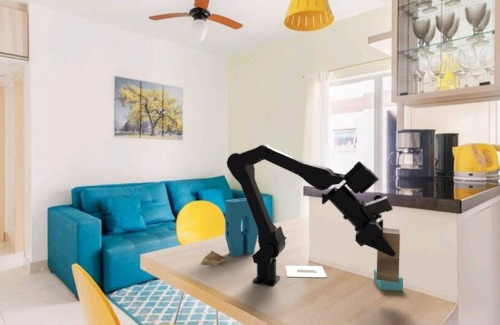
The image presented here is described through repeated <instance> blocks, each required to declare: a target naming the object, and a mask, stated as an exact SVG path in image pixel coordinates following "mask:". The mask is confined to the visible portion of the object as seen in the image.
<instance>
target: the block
mask: <svg viewBox="0 0 500 325" xmlns="http://www.w3.org/2000/svg"><path fill="white" fill-rule="evenodd" d="M224 203H225V205H224V206H225V207H224V209H225V213H224V216H225V217H224V218H225V220H224V222H225V223H224V225H225V231H224V233H225V235H224V236H225V241H226V243H227V248H228V251H229V255H231V256H233V257H241V256H244V253H245V254H247V255H251V254H255V250H256V246H257V242H258V228H257V226H256V223H255V221H254V218H253V215H252V213H251V210H250V208H249V205H248V203H247V200H246V198H245V197H244V198H233V199H226V200H224Z"/></svg>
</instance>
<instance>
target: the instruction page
mask: <svg viewBox="0 0 500 325" xmlns="http://www.w3.org/2000/svg"><path fill="white" fill-rule="evenodd" d="M284 266H285V273H286V277H287V278H313V279H314V278H315V279H316V278H317V279H318V278H320V279H327V278H328V276H327V274H326V271H325V270H324V268H323V266H322V265H284Z"/></svg>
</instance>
